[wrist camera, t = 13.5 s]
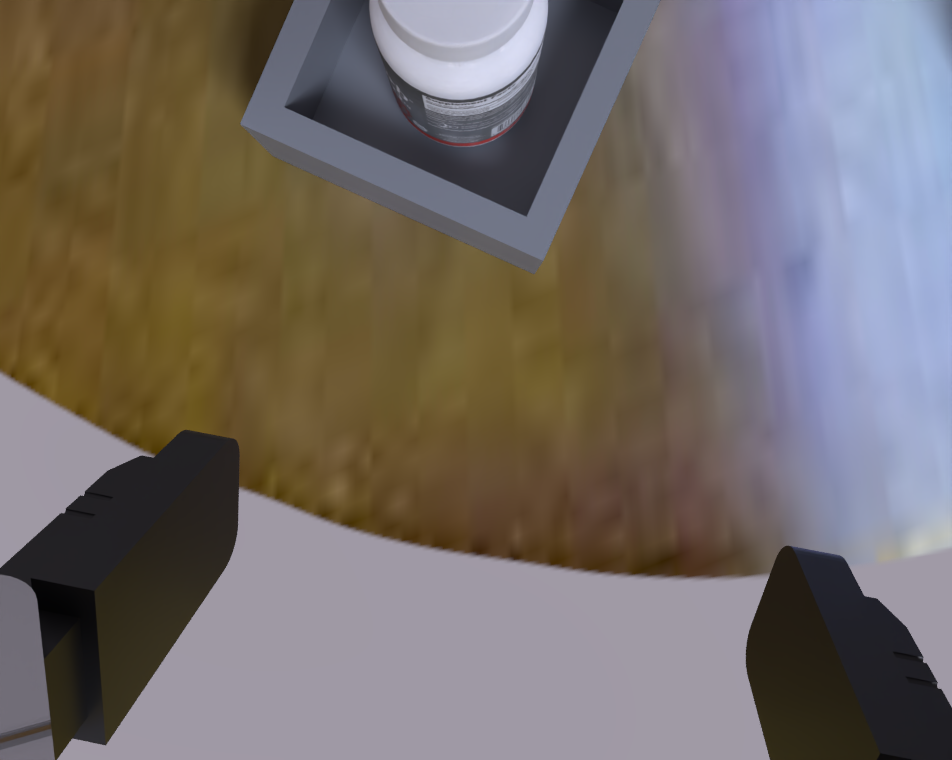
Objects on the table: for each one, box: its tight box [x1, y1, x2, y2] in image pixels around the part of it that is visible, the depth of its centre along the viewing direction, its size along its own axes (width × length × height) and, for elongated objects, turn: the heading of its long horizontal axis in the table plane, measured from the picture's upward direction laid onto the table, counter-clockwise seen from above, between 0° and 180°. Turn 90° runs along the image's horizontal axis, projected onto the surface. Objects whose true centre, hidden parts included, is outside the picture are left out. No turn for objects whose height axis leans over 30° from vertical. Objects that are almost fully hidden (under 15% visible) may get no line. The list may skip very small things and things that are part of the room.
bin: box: [240, 0, 661, 274], centre depth 30 cm, size 12×12×4 cm
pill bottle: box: [369, 0, 548, 147], centre depth 26 cm, size 6×6×10 cm
